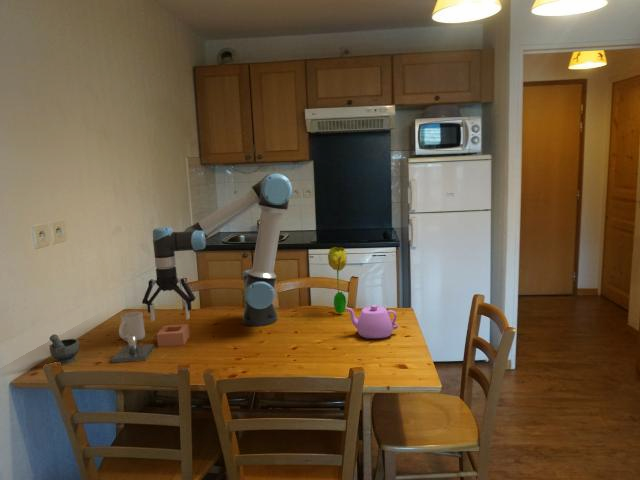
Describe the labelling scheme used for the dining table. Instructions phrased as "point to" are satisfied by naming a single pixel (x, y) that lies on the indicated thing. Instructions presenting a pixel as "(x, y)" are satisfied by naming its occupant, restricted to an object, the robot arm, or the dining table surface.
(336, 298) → the flower
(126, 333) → the mug
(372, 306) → the teapot
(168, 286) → the robot arm
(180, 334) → the terracotta brick slab
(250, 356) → the dining table surface
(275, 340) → the dining table surface
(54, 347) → the mortar and pestle
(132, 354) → the block
